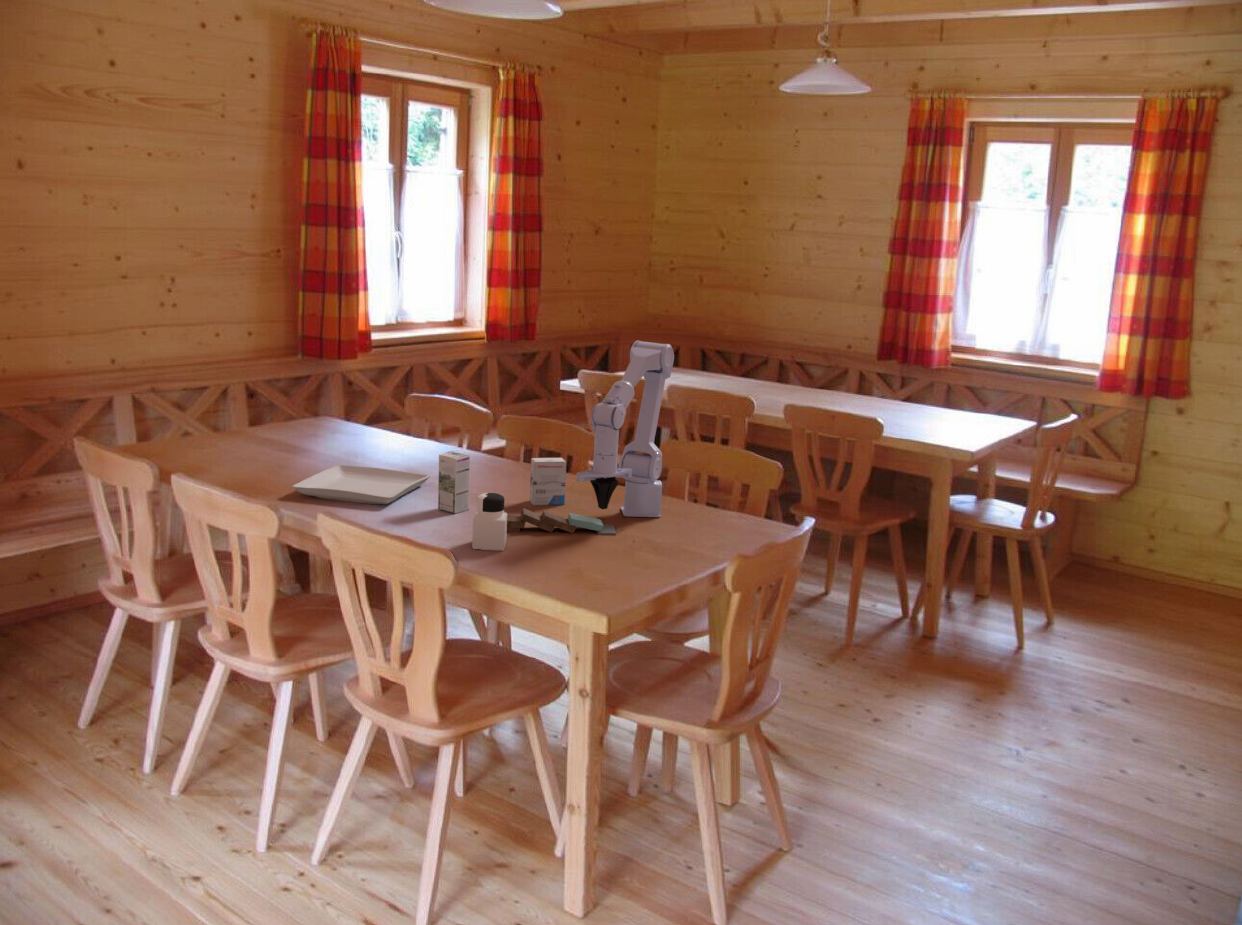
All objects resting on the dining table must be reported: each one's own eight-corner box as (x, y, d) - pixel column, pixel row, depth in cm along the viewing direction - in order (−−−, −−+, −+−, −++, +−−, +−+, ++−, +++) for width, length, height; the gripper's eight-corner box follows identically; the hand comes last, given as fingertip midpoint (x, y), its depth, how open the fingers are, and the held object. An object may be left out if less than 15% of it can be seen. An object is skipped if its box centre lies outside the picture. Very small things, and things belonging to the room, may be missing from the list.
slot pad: (612, 526, 269) (613, 524, 269) (616, 534, 262) (616, 533, 262) (595, 526, 269) (595, 524, 268) (597, 534, 262) (598, 532, 262)
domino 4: (573, 521, 266) (543, 509, 264) (575, 527, 261) (545, 515, 260) (571, 527, 266) (541, 515, 265) (573, 533, 262) (542, 521, 260)
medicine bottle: (506, 541, 252) (508, 491, 249) (504, 551, 245) (505, 499, 242) (475, 540, 252) (476, 490, 249) (472, 549, 245) (473, 498, 242)
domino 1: (525, 516, 265) (492, 514, 265) (524, 521, 260) (490, 520, 260) (525, 522, 265) (492, 520, 265) (523, 528, 260) (490, 526, 260)
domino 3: (553, 520, 266) (523, 508, 264) (554, 526, 261) (524, 513, 259) (550, 526, 266) (520, 513, 264) (551, 532, 261) (521, 519, 260)
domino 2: (518, 522, 265) (485, 521, 264) (519, 528, 260) (485, 527, 259) (518, 528, 265) (485, 528, 264) (519, 534, 260) (485, 534, 259)
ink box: (560, 500, 290) (562, 457, 288) (564, 505, 286) (567, 461, 283) (528, 500, 288) (530, 457, 286) (532, 505, 283) (534, 461, 281)
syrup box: (469, 509, 276) (471, 453, 273) (454, 514, 271) (455, 457, 268) (452, 505, 279) (453, 450, 276) (436, 510, 274) (438, 453, 271)
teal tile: (600, 519, 267) (569, 512, 266) (603, 525, 262) (571, 518, 261) (599, 525, 268) (567, 518, 266) (601, 531, 263) (569, 524, 261)
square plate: (391, 511, 272) (391, 496, 271) (289, 499, 277) (289, 484, 276) (431, 486, 298) (431, 472, 297) (337, 476, 303) (337, 462, 302)
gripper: (622, 447, 268) (619, 501, 271) (571, 451, 260) (568, 506, 263) (638, 453, 262) (634, 508, 265) (586, 458, 255) (583, 514, 258)
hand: (602, 508), depth 264 cm, fingers closed
